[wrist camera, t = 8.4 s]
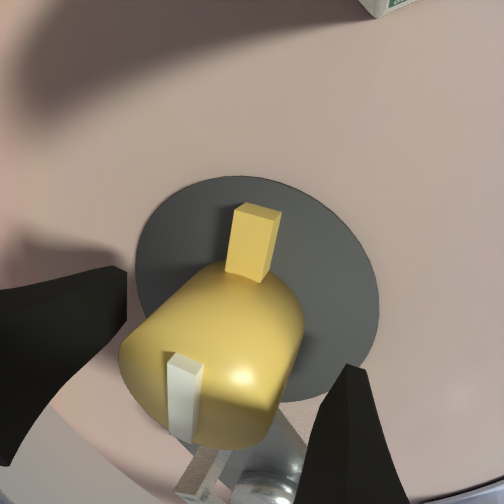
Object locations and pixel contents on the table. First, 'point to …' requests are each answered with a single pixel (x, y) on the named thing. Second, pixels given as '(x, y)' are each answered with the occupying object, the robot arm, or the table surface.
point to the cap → (220, 344)
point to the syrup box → (383, 6)
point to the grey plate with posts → (247, 469)
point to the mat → (272, 268)
